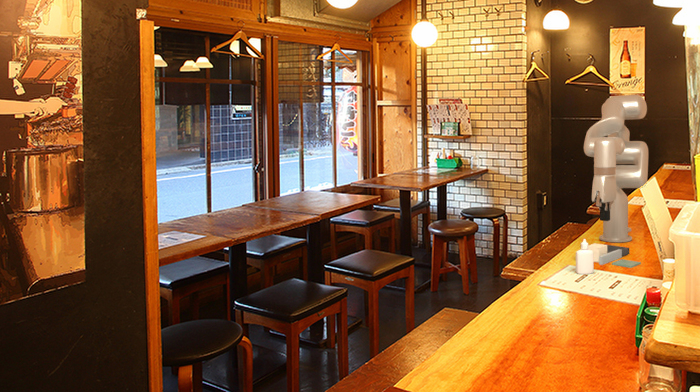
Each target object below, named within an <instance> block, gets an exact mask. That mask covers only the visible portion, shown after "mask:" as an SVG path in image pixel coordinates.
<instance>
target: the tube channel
mask: <svg viewBox="0 0 700 392" xmlns="http://www.w3.org/2000/svg"><path fill="white" fill-rule="evenodd" d="M622 258H623V257H622V250H621V249H618V250H615V251H612V252H610V253H607V254H604V255H602V256H599V263H598V264H599V266H603V265H605V264H608V263H611V262H615V261H617V260H620V259H622Z"/></svg>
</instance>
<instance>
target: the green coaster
mask: <svg viewBox="0 0 700 392" xmlns="http://www.w3.org/2000/svg"><path fill="white" fill-rule="evenodd" d="M641 263H642V262H641V261H634V260H630V259H629V260H628V259H622V258H620V259H617V260H615V261H612V263H611V265H612V266H616V267H617V266H618V267H624V268H630V269H632V268H634V267H637V266H640V265H641Z"/></svg>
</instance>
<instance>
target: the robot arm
mask: <svg viewBox="0 0 700 392" xmlns="http://www.w3.org/2000/svg"><path fill="white" fill-rule="evenodd" d="M647 113H648V106H647V102H646V100H645V99H644V98H643V96H641V95H638V94H626V95H625V94H624V95H614V96H610V97H608V98H607V99H606V100H605V102H604V103H603V104H602V105H601V119H600V120H599V121H596V122H595V123H594V124H593V125H591V126H590V127H589V129H588V130H587V131H586V135H585V138H584V142H583V152H584V154H585V156H587V157H591V158H593V163H594V164H593V180H592V187H591V188H592V189H591V201H592V203H595V206H596V207H598V211H599V221H600V222H601V221H603V223H602V224H603V226H602V227H603V230H602V232H603V233H602V234H600V235H599V240H600V241H602V242H607V243H608V242H609V243H628V242H631V241H632V239H633V237H632V236H631V235H629V233H630V232H632V228H631V227H629V198H628V195H627V194H626V193H625V192H624V190H623V189H641V188H640V187H641V186H643V185H644V184H645V183H646V182H648V175H649V173H648V172H649V146H648V145H647V143H646V142H645V141H642V140H630V130H629V128H627V126H626V125H625V120H628V121H629V120H641V119H644V118H645V116H646V115H647ZM646 184H647V183H646Z"/></svg>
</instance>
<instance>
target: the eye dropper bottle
mask: <svg viewBox="0 0 700 392" xmlns="http://www.w3.org/2000/svg"><path fill="white" fill-rule="evenodd" d="M588 245H589V243H588V242H587V239H586V238H583V239H582V242H580V249H578V250H577V251H575V273H577V274H578V275H592V274H593V273H594V268H595V267H594V263H595V262H594V258H593V251H591V250H589V249H588Z"/></svg>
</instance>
